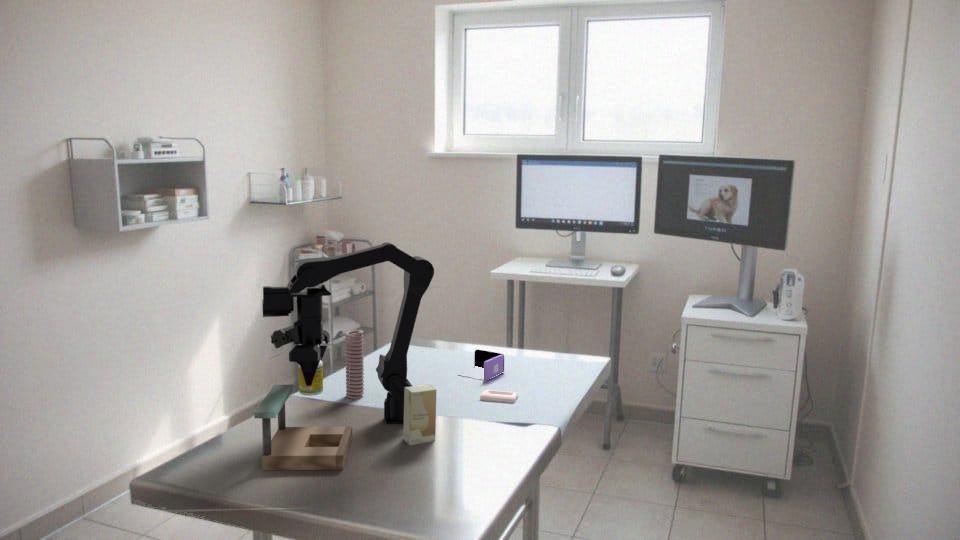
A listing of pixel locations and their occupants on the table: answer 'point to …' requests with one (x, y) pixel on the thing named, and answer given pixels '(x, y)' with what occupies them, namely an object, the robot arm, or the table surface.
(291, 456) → the socket plate
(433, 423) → the skincare box
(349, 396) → the coil
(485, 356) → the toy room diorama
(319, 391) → the supplement bottle
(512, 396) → the soap bar
